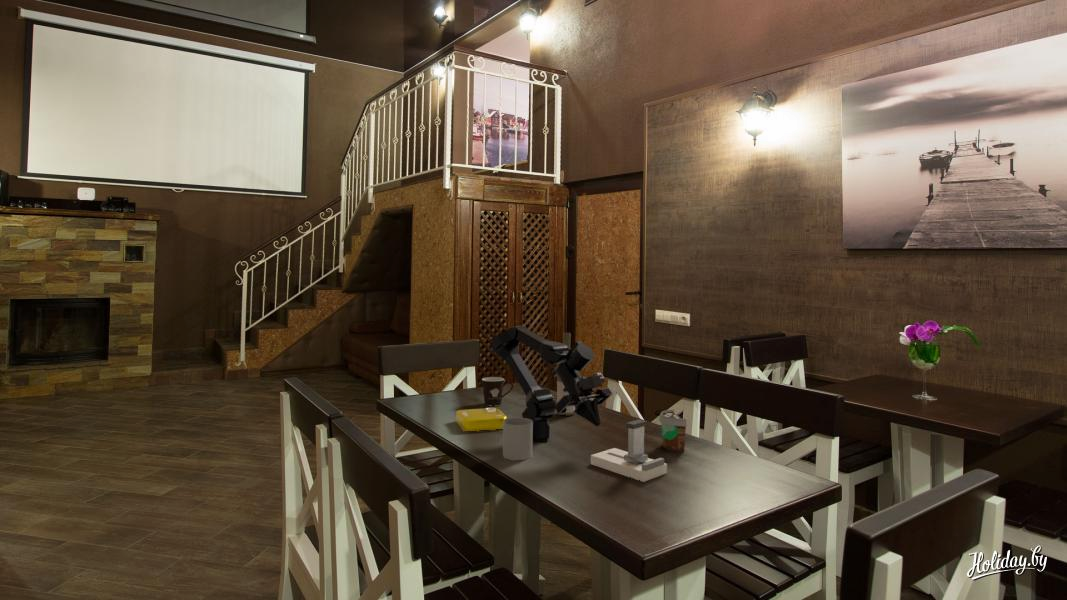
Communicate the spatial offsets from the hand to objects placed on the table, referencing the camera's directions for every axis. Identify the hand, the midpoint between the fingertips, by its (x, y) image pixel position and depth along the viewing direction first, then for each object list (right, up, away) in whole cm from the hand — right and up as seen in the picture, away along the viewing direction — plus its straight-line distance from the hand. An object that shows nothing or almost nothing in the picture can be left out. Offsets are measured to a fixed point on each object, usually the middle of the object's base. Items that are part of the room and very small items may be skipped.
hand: (599, 425), depth 168 cm
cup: (-23, -9, +3) cm, 25 cm away
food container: (+23, -9, +12) cm, 27 cm away
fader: (+9, -7, -9) cm, 15 cm away
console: (+7, -10, -7) cm, 14 cm away
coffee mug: (-33, -6, +65) cm, 73 cm away
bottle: (-7, -7, +51) cm, 52 cm away
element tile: (-36, -8, +36) cm, 51 cm away
